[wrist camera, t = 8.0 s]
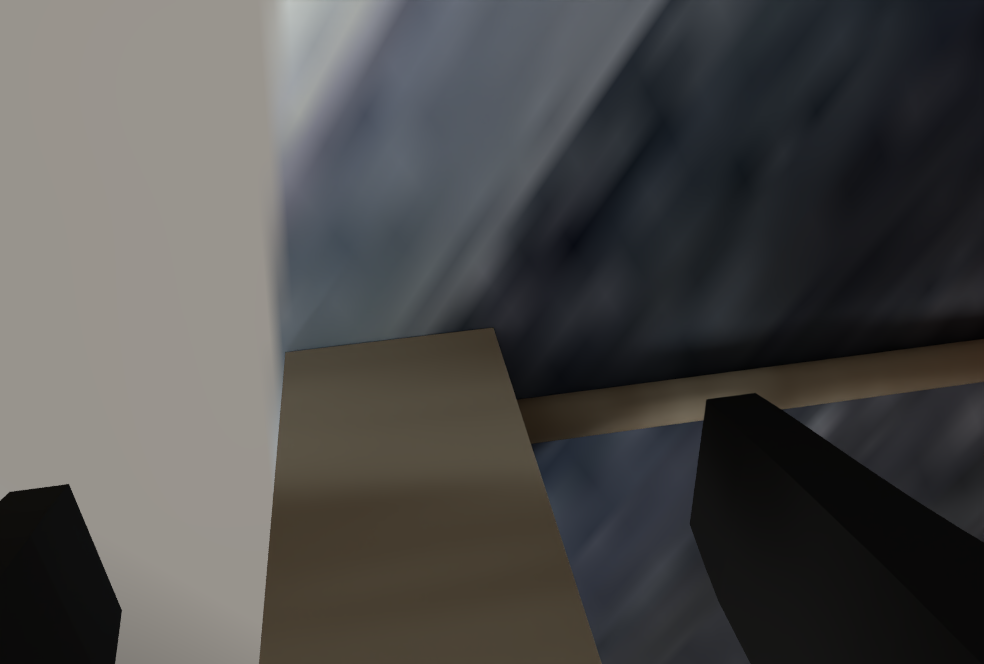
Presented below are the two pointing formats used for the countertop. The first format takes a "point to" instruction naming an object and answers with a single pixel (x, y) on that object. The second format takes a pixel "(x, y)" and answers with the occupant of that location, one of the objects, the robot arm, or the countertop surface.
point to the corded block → (473, 492)
